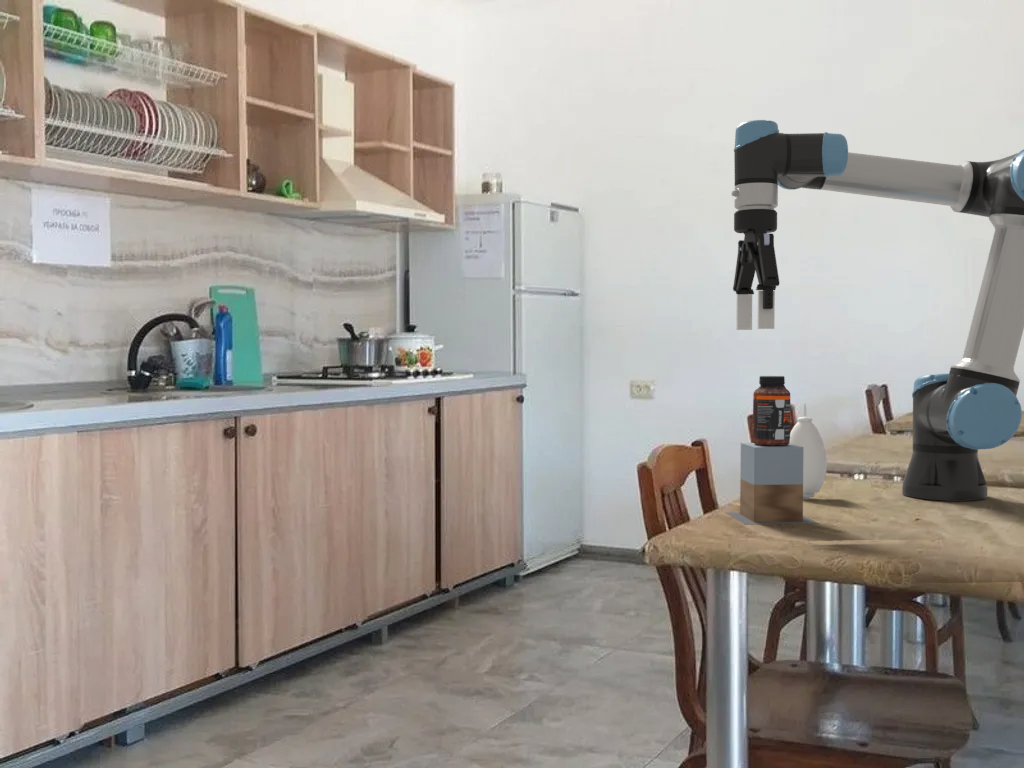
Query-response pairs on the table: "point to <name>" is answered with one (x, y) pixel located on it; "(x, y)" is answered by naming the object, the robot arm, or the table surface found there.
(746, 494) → the walnut block
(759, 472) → the slate block
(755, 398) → the supplement bottle
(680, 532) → the table surface
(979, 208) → the robot arm
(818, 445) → the sauce bottle
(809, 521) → the rubber mat
